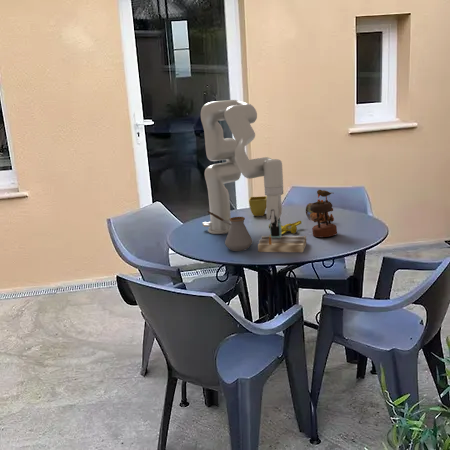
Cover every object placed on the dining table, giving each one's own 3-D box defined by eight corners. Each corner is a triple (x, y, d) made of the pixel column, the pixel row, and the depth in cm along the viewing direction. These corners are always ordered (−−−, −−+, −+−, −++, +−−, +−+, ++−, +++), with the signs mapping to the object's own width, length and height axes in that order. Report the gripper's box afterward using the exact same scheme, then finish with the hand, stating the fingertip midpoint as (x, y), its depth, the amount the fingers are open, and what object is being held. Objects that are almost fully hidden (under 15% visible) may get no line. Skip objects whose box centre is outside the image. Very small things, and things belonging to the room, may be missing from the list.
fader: (271, 240, 216) (270, 223, 214) (272, 238, 218) (271, 221, 217) (280, 240, 215) (279, 223, 213) (281, 238, 217) (281, 221, 216)
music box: (322, 229, 238) (321, 186, 233) (343, 232, 231) (343, 188, 226) (302, 237, 228) (301, 192, 223) (324, 241, 220) (323, 194, 215)
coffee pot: (258, 246, 221) (256, 211, 217) (243, 254, 212) (240, 218, 208) (217, 240, 233) (214, 207, 230) (201, 248, 225) (198, 213, 221)
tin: (305, 218, 260) (304, 201, 258) (310, 217, 261) (310, 200, 259) (324, 224, 247) (323, 206, 245) (329, 223, 248) (329, 205, 246)
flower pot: (251, 213, 278) (250, 196, 276) (268, 212, 277) (267, 195, 275) (249, 217, 270) (248, 200, 268) (266, 216, 269) (266, 199, 266)
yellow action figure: (280, 216, 250) (305, 218, 240) (281, 223, 252) (307, 227, 241) (253, 231, 238) (279, 234, 227) (255, 239, 239) (281, 243, 229)
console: (258, 251, 214) (257, 237, 212) (263, 243, 225) (263, 229, 223) (302, 252, 209) (302, 237, 207) (306, 243, 220) (305, 229, 218)
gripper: (268, 186, 220) (270, 229, 225) (260, 195, 205) (263, 240, 209) (286, 186, 218) (288, 229, 223) (280, 194, 203) (282, 240, 207)
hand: (276, 234), depth 216 cm, fingers closed on fader, 3 cm apart
